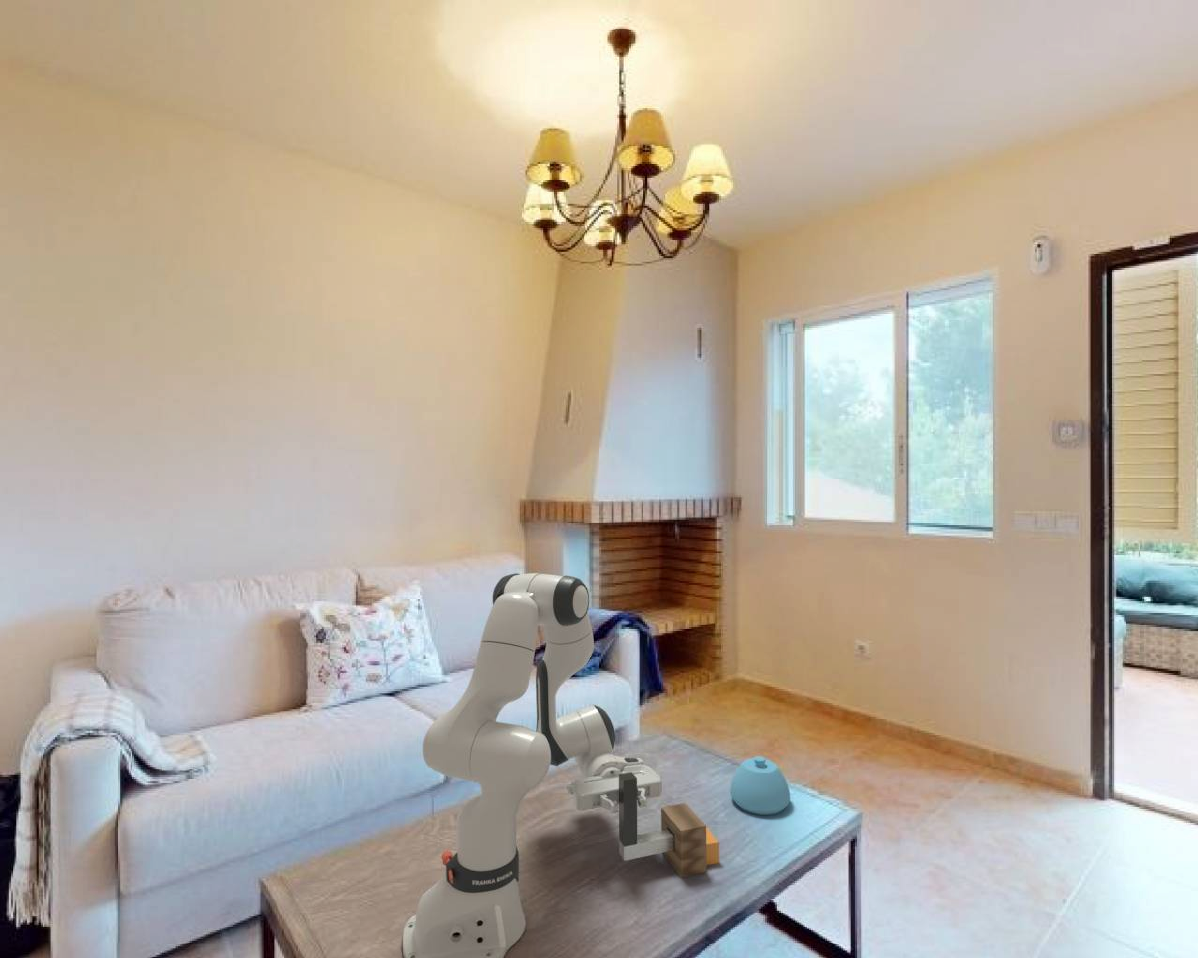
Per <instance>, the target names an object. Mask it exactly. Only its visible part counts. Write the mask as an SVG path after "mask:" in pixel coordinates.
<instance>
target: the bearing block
mask: <svg viewBox="0 0 1198 958" xmlns="http://www.w3.org/2000/svg"><path fill="white" fill-rule="evenodd" d="M660 816H661V817H660V821H661V822H660V824H661V825H660V827H661V828H660V830H665V829H670V830H671V832H672V833H673V834H674V835H675V850H671V851H667V852H662V853H661V854H662V855H664V857H665V858H666V860H667V861H668V862H669V864H670V865H671V867H672V868H673V869H674V870H675V872H676V873H677V875H678V876H679V877H680V879H683V878H687V877H691V876H696V875H698V874H699V875H700V874H705V873H707V865H706V827H707V825H706V824H705V823H704V822H703V820H702V819H700V817H699V816H698V815H697V814H696V813H695V812H694V811H693V810H692V808H690V806H689V805H688V804H687V803H686V802H682V803H678V804H672V805H666V806H663V807H661V808H660Z"/></svg>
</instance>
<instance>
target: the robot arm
mask: <svg viewBox="0 0 1198 958" xmlns="http://www.w3.org/2000/svg"><path fill="white" fill-rule="evenodd" d="M589 607H590V593H589V590H588V588H587V586H586V584H585V583H584V582H583V580H582V579H580V578H578V577H575V576H571V575H556V574H549V573H548V574H547V573H543V572H530V573H522V574H521V573H512V574H511V573H510V574H507V575H504V576H503V577H501V578H500V579H499V580H498V582H497V583H496V585H495V586H494V588H493V593H492V607H491V609H490V612H489V615H488V617H487V620H486V622H485V625H484V629H483V632H482V635H481V639H480V644H479V648H478V654H477V656H476V660H475V665H474V668H473V671H472V674H471V678H470V681H469V683H468V684H467V687H466V689H465V691H464V692H463V694H462V696H461V697H460V699H459V700H458V701H457V702H456V703H455V705H454V706H453V707H452V708H451V709H450V710H449V711H448V712H447V713H445V714H444V715H443V716H440V717H438V718H437V719H436V720H435V721H434V722H433V723H432V724H431V725H430V726H429V727H428V729H427V730H426V733H425V735H424V738H423V741H422V756H423V760H424V762H425V764H426V766H427V767H428V768H430V769H431V770H432V771H435V772H437V773H439V774H441V775H443V776H446V777H448V778H452V779H457V780H460V781H465V782H473V783H476V784H479V786H480V789H481V790H480V791H481V794H479V795H477V796H475V797H473V798H471V799H470V800H469V801H468V800H467V802H466V803H464V805H463V806H462V807H461V810H459V813H458V816H457V819H456V853H455V854H454V855H453V853H452V851H451V850H445V851H443V853H442V854H441V860H442V865H444V866H445V875H444V876H443V877H442V878H441V879H439V880H438V881H437V882H436V883H435V884H433V885H432V886H431V887H429V889H427V890H426V891H425V892H424V893H423V895H422V896H421V898H420V900H419V902H418V904H417V905H418V906H417V908H416V914H414V915H412V916H411V917H410V918H409V919H408V920H407V922H406V924H405V926H404V929H403V934H402V953H403V958H504V957H505V955H506V953H507V951H508V950H509V949H510V948H511V947H512V946H513V945H515V944H516V943H517V942H518V940H520V939H521V937H522V935H523V934H524V932H525V929H526V925H527V922H526V917H525V914H524V910H523V907H522V901H521V897H520V888H519V880H520V879H519V877H520V853H519V850H518V846H517V827H518V825H517V824H518V813H519V810H520V807H521V804H522V802H523V800H524V799H525V797H526V796H527V795H528V794H529V792H531V791H532V790H534V789H536V788H537V787H539V785H540V784H542V782H543V781H544V779H545V778H546V776H547V775H548V773H549V770H550V768H551V766H554V767H559V766H561V765H562V764H564V763H566V762H569V760H570V759H573V758H574V762H575V764H576V766H577V769H578V770H579V772H580V773H581V776H582V778H579V779H575V780H574V781H572V782H571V783H570V784H567V785H566V790H567V792H568V793H569V794H570V795H572V800H573V803H574V806H575V808H576V809H577V810H579V811H588V810H592V809H598V808H603V809H605V810H608V811H609V812H610V813H611V814H613V813H619V774H624V773H630V772H632V773H633V774H634V776H635V777H636V778H637V807H639V808H646V807H647V805H648V804H647V799H651V798H655V797H657V798H658V797H660V796H661V795H662V792H663V781H662V778H661V777H660V775H659V774H658V773H657V772H656V771H655V770H654V769H652V768H651V767H650V766H648V765H645V764H644V760H643V759H642V758H640V757H639V758H638V757H624V756H623V757H622V756H619V755H618V756H617V755H615V754H613V752H612V751H613V750H614V749H615V745H616V739H617V738H616V730H615V727H614V724H613V722H612V720H611V718H610V716H609V714H608V713H607V712H606V711H605V710H604V709H603V708H602V707H600V706H598V705H596V704H591V705H588V706H586V707H582V708H580V709H578V710H576V711H573V712H570V713H568V714H566V715H563V716H560V717H557V704H556V703H557V702H556V698H557V697H556V696H557V694H558V691H559V689H560V688H561V687H562V685H564V683H565V682H566V681H568V680H569V678H571V677H572V676H573V675H574V674H576V673H577V672H579V671H580V670H581V669H583V668H584V667H585V666H586V665H587V664H588V662H589V660H590V658H591V657H592V655H593V653H594V649H595V644H594V643H595V640H594V634H593V633H594V632H593V629H592V627H593V626H592V624H591V619H590V616H589ZM539 626H543V632H544V637H545V638H544V639H545V642H546V643H545V648H544V649H545V650H544V653H543V656H542V659H541V660H539V662H538V663H537V666H536V671H535V672H536V674H535V689H536V691H535V693H536V694H535V696H536V697H535V698H536V730H533V729H531V728H529V727H526V726H524V725H521V724H513V723H507V722H501V721H497V718H498V716H499V714H500V712H501V710H502V709H503V708H504V707H505V706H506V705H507V704H510V703H513V702H515V701H517V700H519V699H520V698H522V697H523V696H524V695H525V693H527V690H528V688H529V686H530V679H531V674H532V670H533V664H534V659H535V655H536V654H535V653H536V648H537V642H538V636H539V635H538V632H539Z"/></svg>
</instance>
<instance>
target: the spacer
mask: <svg viewBox="0 0 1198 958" xmlns="http://www.w3.org/2000/svg"><path fill="white" fill-rule="evenodd" d="M719 863H720V842H719V840H718V839H717V838H716V837H715V835H714V834H713V832H712V831H711V830H710V829H709V827H708V826H706V866H709V865H710V866H711V865H715V864H719Z"/></svg>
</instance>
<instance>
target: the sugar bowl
mask: <svg viewBox="0 0 1198 958" xmlns="http://www.w3.org/2000/svg"><path fill="white" fill-rule="evenodd" d="M729 789H730V792H729V793H730V794H729V795H730V796H731V798H732V800H733V801H734V803H735V804H736V805H737V806H738V807H739V808H741V809H742V810H744V811H746V812H748V813H751V814H755V815H758V816H759V815H761V816H771V815H777V814H778V813H781V812H782V811H783V810H785V809H786V807H787V806H788V805H789V803H790V801H791V793H790V789H789V785H788V782H787V779H786V778H785V776H784V774H783V773H782V771H781V769H780V767H779V766H778V764H776V763H775V762H774V761H772V760H769V759H766V757H764V756H761V755H760V756H758V755H756V756H754V757H752V758H751V757H750V758H747V759H745V760H744V761H742V762H741V764H740V765H739V766H738V768H737V770H736V771H735V773H734V774H733V776H732V780H731V782H730V788H729Z"/></svg>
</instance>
